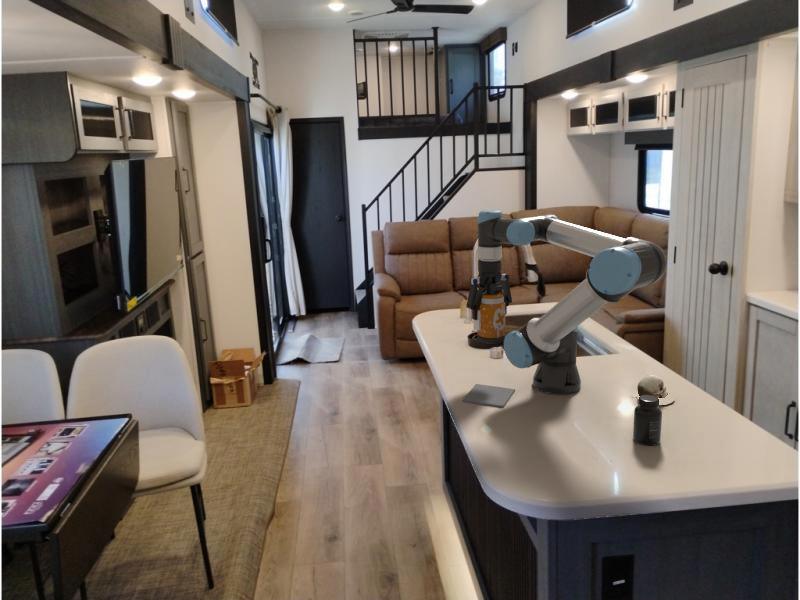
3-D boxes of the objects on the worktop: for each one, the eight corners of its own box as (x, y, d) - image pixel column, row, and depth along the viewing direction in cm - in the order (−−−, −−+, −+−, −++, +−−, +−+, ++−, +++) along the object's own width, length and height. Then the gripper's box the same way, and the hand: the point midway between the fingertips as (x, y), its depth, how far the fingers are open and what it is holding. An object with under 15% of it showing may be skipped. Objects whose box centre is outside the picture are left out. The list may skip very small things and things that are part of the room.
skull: (651, 384, 202) (670, 368, 194) (667, 413, 196) (687, 398, 188) (621, 389, 197) (639, 373, 189) (637, 419, 192) (656, 404, 184)
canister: (492, 346, 200) (492, 285, 196) (467, 339, 209) (467, 280, 204) (510, 340, 206) (511, 281, 201) (485, 333, 214) (485, 276, 209)
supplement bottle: (659, 436, 169) (662, 394, 166) (660, 447, 163) (664, 404, 160) (632, 433, 171) (635, 391, 168) (632, 444, 165) (635, 401, 162)
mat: (515, 390, 202) (515, 389, 201) (503, 407, 189) (503, 405, 189) (476, 385, 207) (476, 383, 207) (462, 401, 194) (462, 399, 194)
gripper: (510, 253, 209) (509, 319, 214) (454, 261, 199) (455, 329, 205) (524, 257, 202) (523, 324, 208) (467, 264, 193) (467, 334, 198)
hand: (489, 326), depth 206 cm, fingers closed on canister, 9 cm apart
